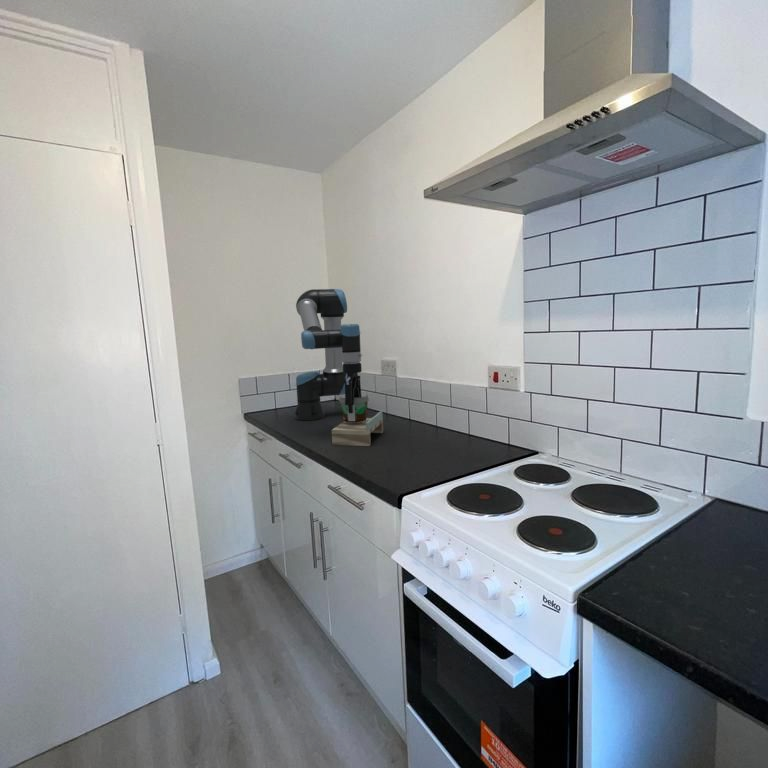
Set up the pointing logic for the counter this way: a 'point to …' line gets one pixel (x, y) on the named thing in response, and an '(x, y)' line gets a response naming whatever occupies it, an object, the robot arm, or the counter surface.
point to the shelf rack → (357, 431)
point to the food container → (359, 408)
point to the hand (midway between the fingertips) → (354, 418)
